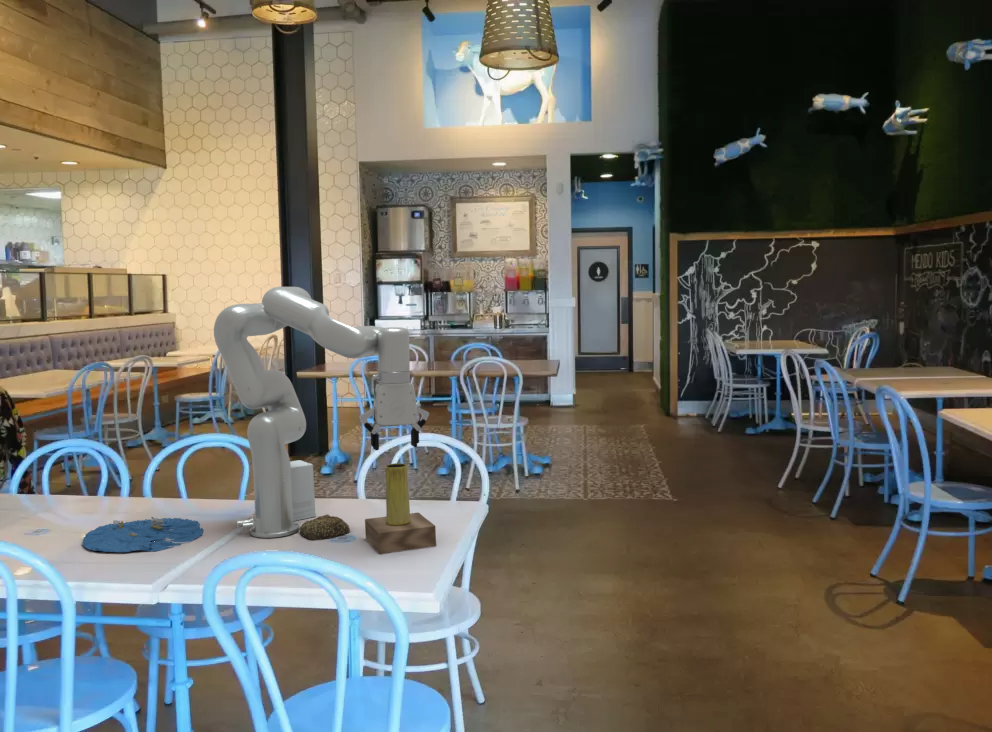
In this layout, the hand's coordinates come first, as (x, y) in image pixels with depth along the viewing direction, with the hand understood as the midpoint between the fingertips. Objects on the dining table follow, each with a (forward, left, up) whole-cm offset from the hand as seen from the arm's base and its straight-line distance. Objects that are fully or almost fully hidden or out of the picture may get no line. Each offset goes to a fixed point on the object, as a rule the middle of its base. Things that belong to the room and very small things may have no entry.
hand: (395, 447), depth 210 cm
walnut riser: (0, 0, -24) cm, 24 cm away
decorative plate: (-58, +35, -24) cm, 72 cm away
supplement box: (-20, +37, -24) cm, 48 cm away
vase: (0, 0, -19) cm, 19 cm away
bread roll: (-15, +17, -24) cm, 33 cm away
